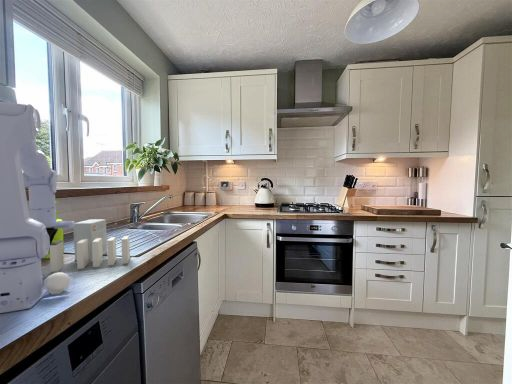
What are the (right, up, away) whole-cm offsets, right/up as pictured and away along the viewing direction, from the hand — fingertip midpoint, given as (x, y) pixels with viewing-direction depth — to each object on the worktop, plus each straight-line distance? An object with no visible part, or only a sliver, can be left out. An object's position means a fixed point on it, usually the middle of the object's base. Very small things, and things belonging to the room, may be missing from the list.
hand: (45, 253), depth 69 cm
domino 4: (+16, -5, +7) cm, 18 cm away
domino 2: (+9, -5, +4) cm, 11 cm away
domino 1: (+3, -5, +1) cm, 6 cm away
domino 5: (+20, -5, +8) cm, 22 cm away
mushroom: (+15, -6, -13) cm, 21 cm away
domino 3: (+12, -5, +5) cm, 14 cm away
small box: (+4, -5, +14) cm, 15 cm away
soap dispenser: (-10, -5, +15) cm, 18 cm away
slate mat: (+10, -5, +4) cm, 12 cm away
